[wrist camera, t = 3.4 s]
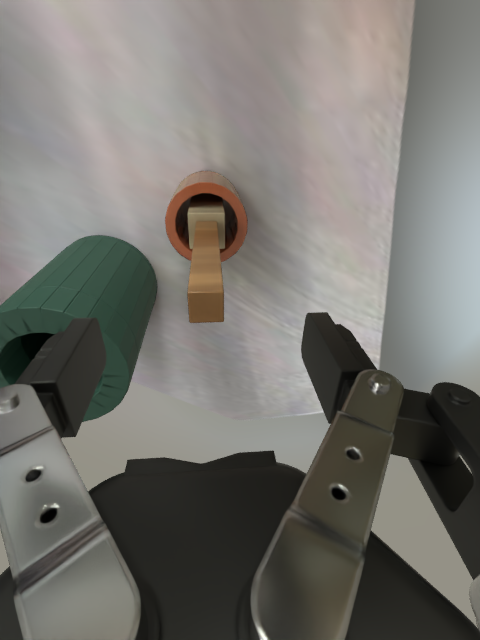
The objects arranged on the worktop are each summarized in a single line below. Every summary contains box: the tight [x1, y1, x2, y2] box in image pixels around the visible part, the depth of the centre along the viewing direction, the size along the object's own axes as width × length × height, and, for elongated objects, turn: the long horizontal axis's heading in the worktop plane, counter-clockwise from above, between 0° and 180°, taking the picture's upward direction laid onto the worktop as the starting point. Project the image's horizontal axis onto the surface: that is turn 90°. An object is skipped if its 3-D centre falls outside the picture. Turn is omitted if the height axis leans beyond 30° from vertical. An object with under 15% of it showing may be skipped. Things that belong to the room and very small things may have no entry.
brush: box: [187, 193, 225, 323], centre depth 23 cm, size 3×3×20 cm
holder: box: [165, 171, 247, 262], centre depth 29 cm, size 7×7×7 cm
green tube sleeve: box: [0, 235, 157, 422], centre depth 29 cm, size 10×10×15 cm
